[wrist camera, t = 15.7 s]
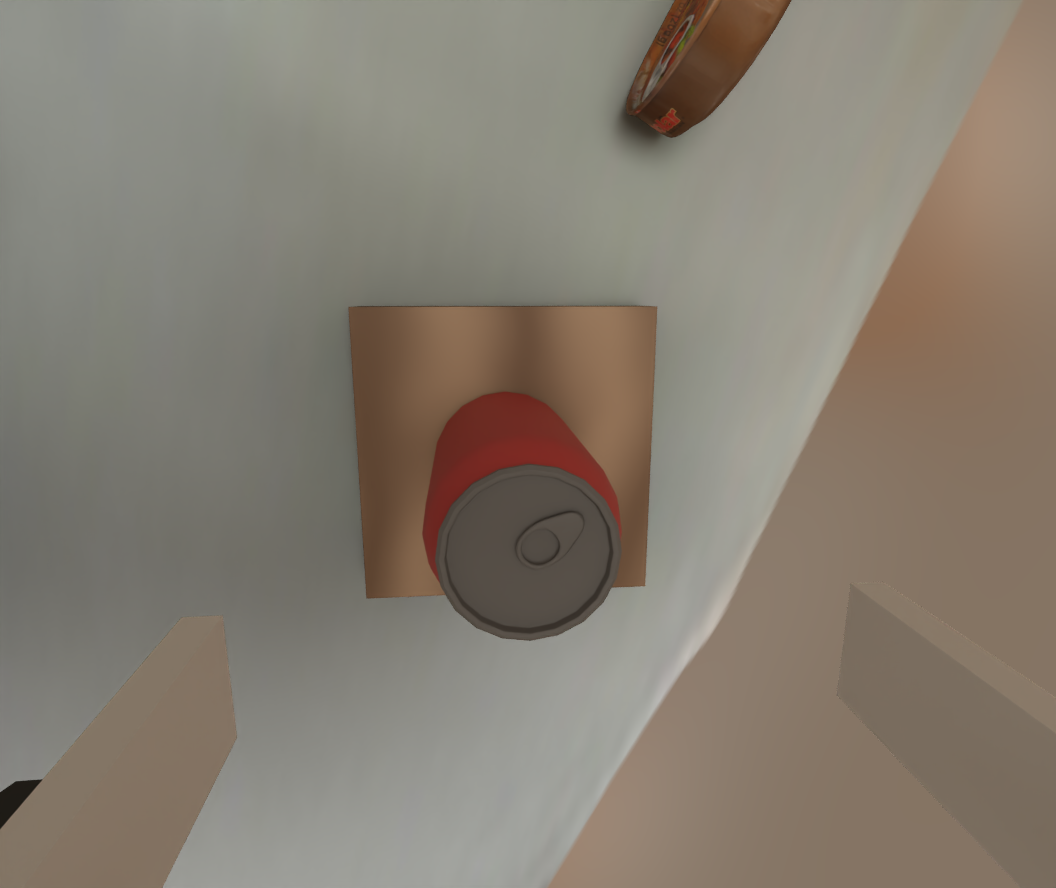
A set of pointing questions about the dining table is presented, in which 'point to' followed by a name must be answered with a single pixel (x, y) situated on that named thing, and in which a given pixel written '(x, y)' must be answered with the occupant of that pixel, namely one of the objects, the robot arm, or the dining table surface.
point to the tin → (699, 59)
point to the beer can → (519, 519)
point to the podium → (486, 368)
